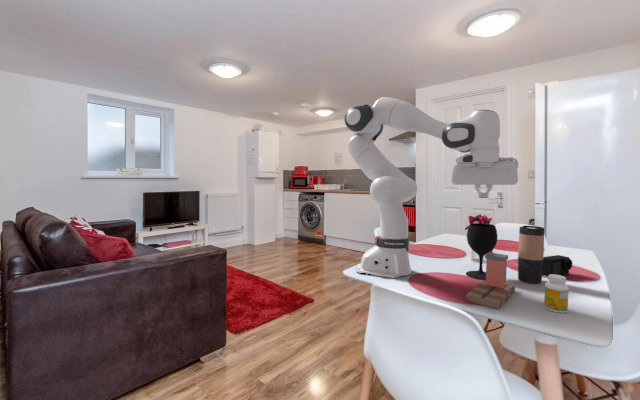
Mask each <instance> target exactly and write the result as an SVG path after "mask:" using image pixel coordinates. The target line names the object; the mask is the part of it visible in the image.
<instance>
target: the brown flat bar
mask: <svg viewBox="0 0 640 400" xmlns="http://www.w3.org/2000/svg"><path fill="white" fill-rule="evenodd" d="M515 292H516V285H515V284H510V283H507V282H506V286H505V287H504V288H503V289H502V288H498V287H493V286H489V285H486V279H485V280H482V282H480V283H479V284H478V285H476V286H475V287H474V288H472V289H471V290H470V291H469V292H466V294H465V301H466V302H468V301H470V302H469V303H472V302H474V303H473V304H476V303H478V304H477V305H479V304H481V305H480V306H483V305H484V307H488V308H490V309H491V308H492V309H494V310H500V308H501V307H502V306H503V305H504V304H505V303H506V302H507V300H508V299H510V297H511V296H512V295H513V294H514V293H515Z"/></svg>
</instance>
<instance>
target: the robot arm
mask: <svg viewBox="0 0 640 400" xmlns="http://www.w3.org/2000/svg"><path fill="white" fill-rule="evenodd" d="M344 124H345V126H346V127H347V129H348V130H350V131H352V132H354V133H353V135H352V137H351V138H350V139H349V140H348V142H347V150H348V152H349V154H350V155H351V158H352V159H353V160H354V162H355V163H356V165H357V167H359V168H360V170H361V171H362V172H363V174H364V175H365V176H366V177H367V178H368V179H369V180H371V181H372V182H371V184H370V186H369V194H370V197H371V198H372V199H373V201H374V202H375V204H376V206H377V210H378V215H379V228H380V229H379V233H380V234H379V235H375V237H374V244H375V245H374V246H372V247H371V248H369V249H368V250H366V251H365V252H364V253H363V254H362V257H361V260H360V261H361V262H360V263H358V264H357V265H358V266H357V265H356V266H355V271H356V270H357V271H358V272H361V273H366V274H365V275H368V274H371V275H370V276H376V277H383V278H389V279H391V278H392V279H397V278H399V277H406V276H409V275H410V274H412V268H411V264H410V255H409V252H410V238H409V218H408V216H407V214H406V212H405V210H404V207H403V205H404V204H403V203H406V202H408V201H410V200H412V199H413V198H415V197H416V195H417V193H418V186H417V183H416V181H415V180H414V179H413V178H411V177H409V176H407V175H406V174H405V173H404V172H403V171H402V170H400V169H399V168H398V167H397V166H396V165H394V164H393V163H392V162H391V161H390V160H389V159H388V158H387V157H386V156H385V155H384V153H382V151H381V150H380V149H379V148H378V147H377V146H376V144H375V143H374V142H376V140H377V138H379V137H380V136H381V134H382V132H383V130H384V125H385V126H389V127H391V128H393V129H396V130H399V131H402V132H403V131H406V132H413V133H420V134H425V135H429V136H433V137H435V138H437V139H440V140H441V141H442V143H443V145H444V146H445V147H447V148H448V149H451V150H454V151H458V152H460V153H465V154H464V155H461V156H458V157H456V158H455V163H456V164H455V165H454V166H453V168H452V173H451V174H452V175H451V183H452V184H453V185H458V186H459V185H460V186H461V185H462V186H464V185H466V186H468V185H469V186H470V185H472V186H473V185H474V189H475V191H476V192H477V198H478V199H489V193H490V192H491V190H492V189H493V185H494V186H495V185H498V186H499V185H501V186H502V185H503V186H504V185H506V186H507V185H508V186H509V185H513V186H515V185H516V184H517V183H518V182H519V172H518V168H519V160H517V159H516V158H514V157H513V156H512V157H511V156H510V157H500V143H499V140H500V136H501V120H500V115H499V114H498V113H497V112H496V111H493V110H489V109H476V110H474V111H473V112H472V113H471V114H469V115H468V116H466V117H465V118H462V119H461V120H458V121H455V122H453V123H452V122H451V123H450V124H449V123H447V122H443V121H442V120H439V119H436V118H434V117H433V116H430V115H428V114H427V113H425V112H424V111H423V110H421V109H420V108H418V107H417V106H415V105H413V104H411V102H407V101H405V100H403V99H402V100H401V99H398V98H394V97H388V96H382V97H379V98H378V99H377V100H376V101H375V102H374V103H373V105H372V106H370V105H369V104H363V105H355V106H352V107H350V108H348V110H347V111H346V113H345V115H344ZM466 153H467V154H466ZM481 185H483V186H484V185H485V188H487V189H486V190H485V192H481V190H480V189H481V187H482V186H481ZM358 269H359V270H358Z"/></svg>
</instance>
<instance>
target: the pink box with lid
mask: <svg viewBox="0 0 640 400" xmlns="http://www.w3.org/2000/svg"><path fill="white" fill-rule="evenodd" d="M484 257H485V259H486V264H485V265H486V266H485V272H486V285H489V286H493V287H498V288H502V289H503V288H504V287H505V286H506V283H507V266H508V265H507V263H508V262H507V261H508V260H509V255H508V254H504V253H503V254H501V253H496V252H491V251H490V252H489V253H487V254H486V255H484Z"/></svg>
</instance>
